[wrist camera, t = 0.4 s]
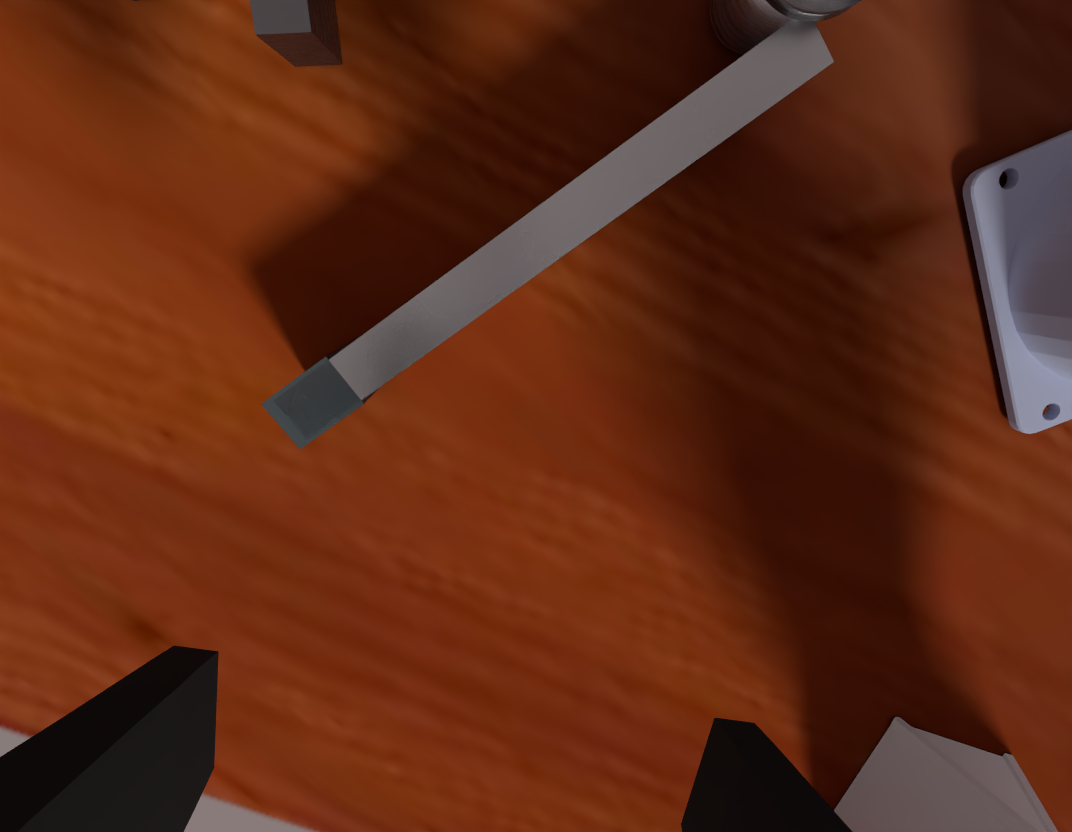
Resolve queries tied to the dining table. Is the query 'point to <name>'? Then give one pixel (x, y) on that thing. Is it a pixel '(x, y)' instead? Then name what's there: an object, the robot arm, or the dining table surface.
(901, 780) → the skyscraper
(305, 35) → the base
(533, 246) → the tong arm
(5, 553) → the dining table surface
